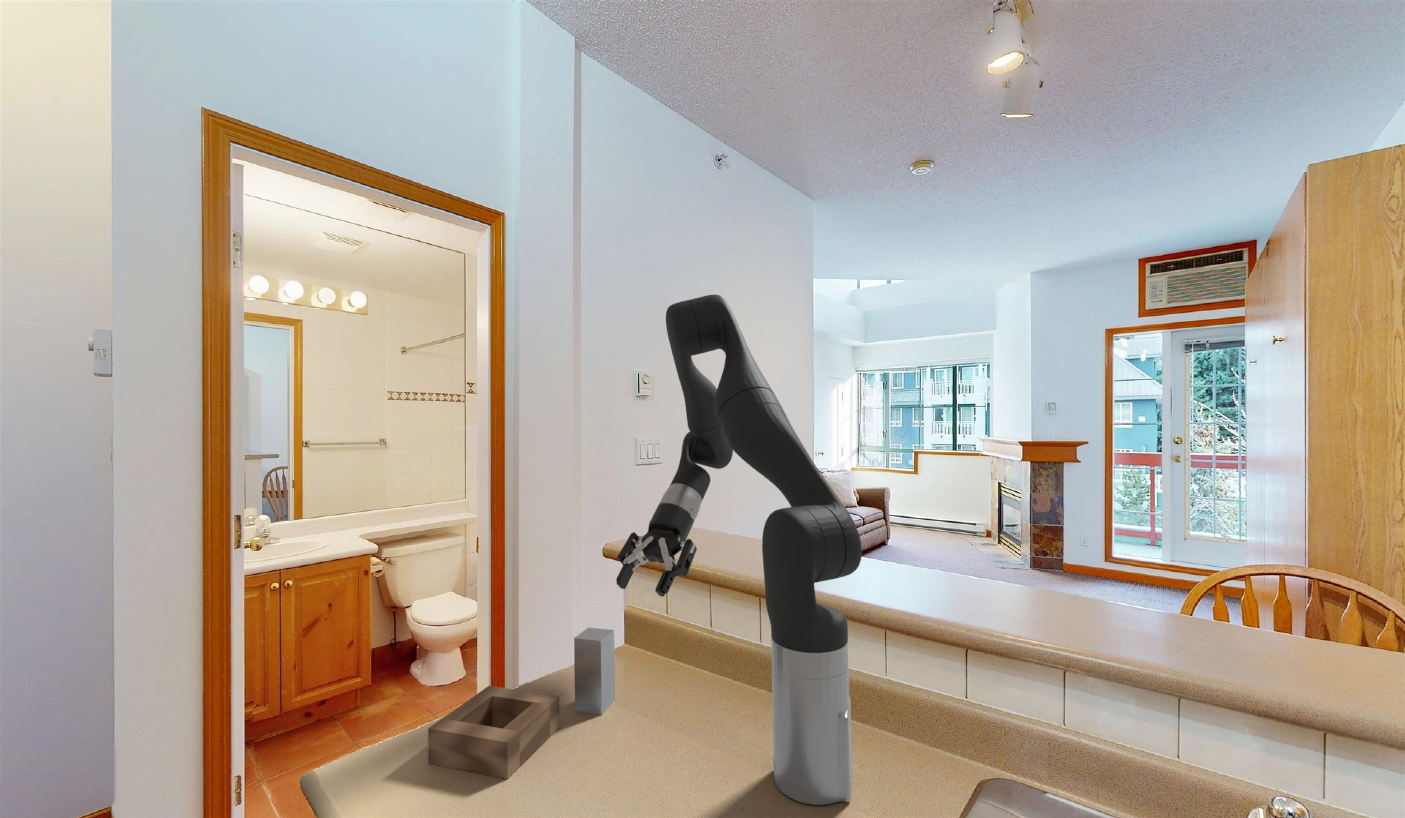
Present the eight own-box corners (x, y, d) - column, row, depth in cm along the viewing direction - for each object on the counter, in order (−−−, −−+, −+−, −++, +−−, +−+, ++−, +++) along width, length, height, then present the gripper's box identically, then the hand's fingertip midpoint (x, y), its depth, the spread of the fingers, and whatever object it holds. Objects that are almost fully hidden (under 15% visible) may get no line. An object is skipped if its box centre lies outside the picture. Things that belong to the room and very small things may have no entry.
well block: (559, 727, 80) (559, 695, 81) (507, 779, 69) (507, 742, 69) (489, 715, 84) (488, 685, 84) (428, 763, 72) (428, 728, 73)
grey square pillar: (615, 700, 88) (614, 629, 88) (601, 714, 84) (600, 640, 84) (589, 696, 89) (588, 627, 90) (575, 710, 85) (574, 638, 85)
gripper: (637, 498, 108) (597, 573, 98) (700, 503, 100) (663, 584, 90) (654, 522, 112) (617, 595, 102) (715, 528, 105) (682, 608, 95)
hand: (639, 590), depth 96 cm, fingers open, 8 cm apart
